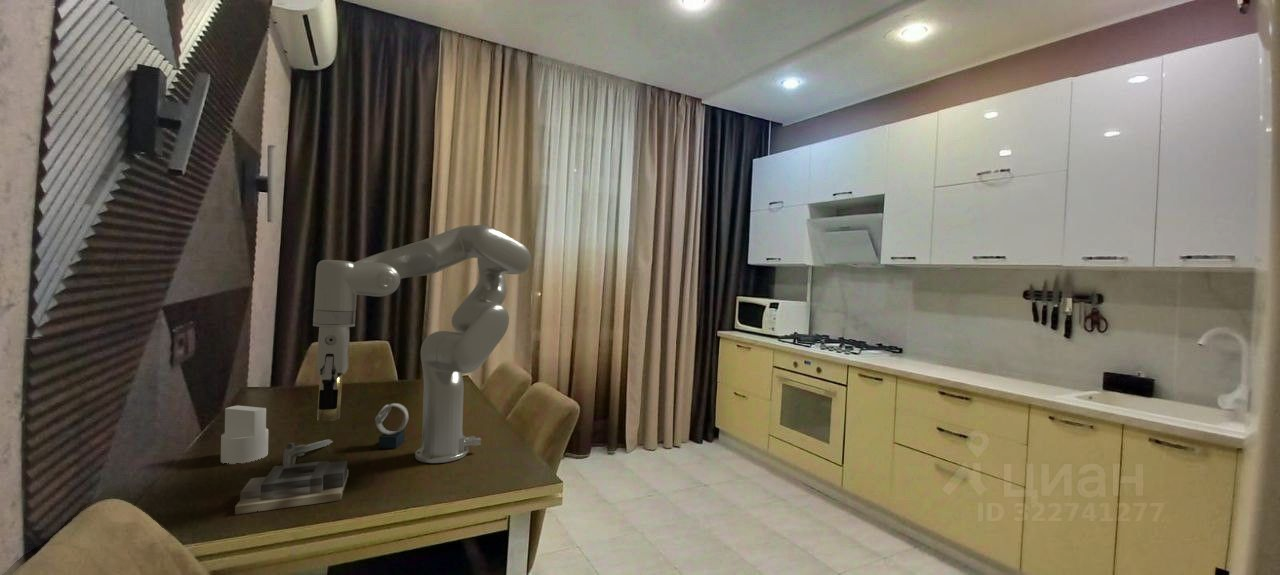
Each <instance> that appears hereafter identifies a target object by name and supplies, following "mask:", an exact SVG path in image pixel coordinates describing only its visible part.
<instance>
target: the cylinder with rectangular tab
mask: <svg viewBox="0 0 1280 575" xmlns="http://www.w3.org/2000/svg"><path fill="white" fill-rule="evenodd" d="M268 454H269V429H268V428H267V407H256V406H247V405H233V406H229V407H225V409H224V433H222V434H221V435H220V463H222V464H224V463H227V464H226V465H237V464H236V463H241V464H245V463H246V462H247V463H251V461H252V462H255V460H256V461H258V459H259V460H262V459H264V458H266V457H267V456H268ZM261 458H262V459H261ZM228 463H229V464H228ZM247 463H246V464H247Z"/></svg>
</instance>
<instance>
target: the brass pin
mask: <svg viewBox="0 0 1280 575" xmlns="http://www.w3.org/2000/svg"><path fill="white" fill-rule="evenodd" d="M332 374H335V372H332ZM321 376H322V375H319V382H318V385H319V386H318V392H319V391H320V389H321ZM332 378H333V379H334V377H332ZM342 388H343V375H341V373H338V378H337V389H338V401H337V408H336V409H328V410H319V409H318V407H319V397H318V403H317V414H316V420H317V421H318V422H333V421H337V420H340V419H341V418H340V417H341V404H342V403H341V402H342Z"/></svg>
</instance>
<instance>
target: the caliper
mask: <svg viewBox="0 0 1280 575" xmlns="http://www.w3.org/2000/svg"><path fill="white" fill-rule="evenodd" d="M333 442H334V441H333V440H331V439H324V440H320V441H315V442H312V443H308V444H297V445H296V444H295V442H289V443H286V448H284V451H283V457H282V465H291V464H296V460H297V458H301V457H304V456H305V453H307V452H311V451H314V450H317V449H320V448H324V447H325V448H326V447H328V446H329V445H330V444H332V443H333ZM327 445H328V446H327Z"/></svg>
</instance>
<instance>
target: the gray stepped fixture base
mask: <svg viewBox="0 0 1280 575" xmlns="http://www.w3.org/2000/svg"><path fill="white" fill-rule="evenodd" d="M349 472H350V471H349V469H348V460H342V461H335V462H331V461H330V460H321V461H311V462H310V461H309V462H303V463H302V462H301V463H295V464H291V465H283V464H282V465H275V466H274V465H273V467H272V469H271V470H270V471H269V472H268V474H267V476H261V477H252V478H250V479H249V481H248V482H247V483H246V484H245V485H244V487H243V489H241V491H240V499H239V501H238V502H237V504H235V506H234V516H235V515H243V514H249V513H258V512H264V511H265V512H266V511H272V510H279V509H287V508H294V507H302V506H307V505H309V506H310V505H316V504H317V505H318V504H322V503H329V502H338V501H341V500H342V497H343V494H344V492H343V491H345V488H346V485H347V481H348V479H347V478H349ZM257 511H258V512H257Z"/></svg>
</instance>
